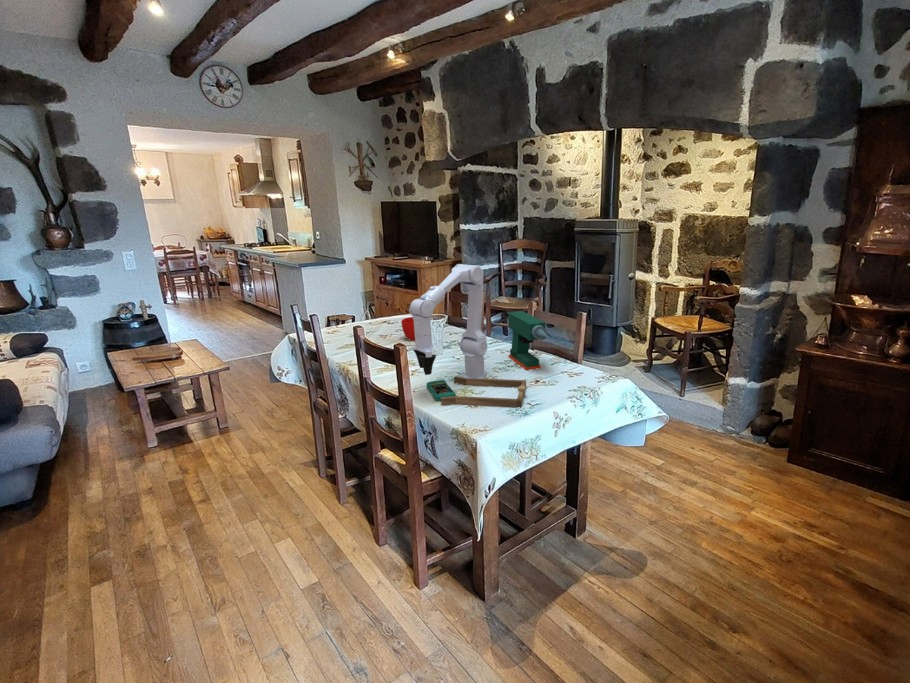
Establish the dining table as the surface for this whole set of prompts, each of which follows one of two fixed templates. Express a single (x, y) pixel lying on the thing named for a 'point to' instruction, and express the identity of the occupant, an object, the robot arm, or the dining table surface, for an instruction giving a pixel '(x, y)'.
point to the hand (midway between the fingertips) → (425, 370)
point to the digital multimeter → (440, 389)
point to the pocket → (484, 400)
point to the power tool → (525, 338)
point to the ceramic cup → (408, 328)
